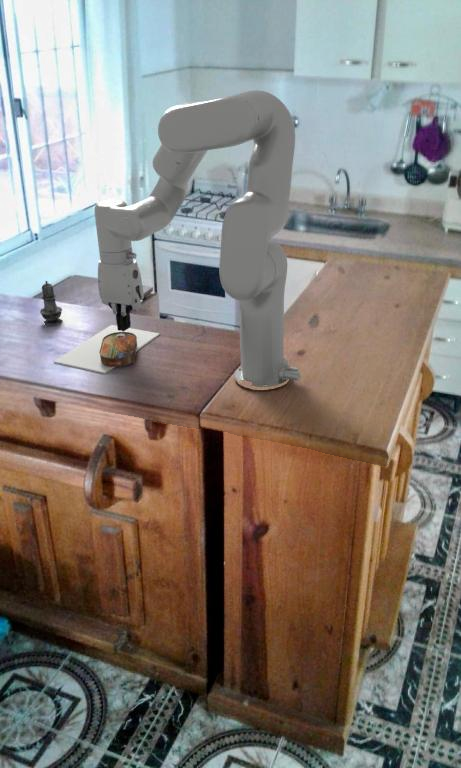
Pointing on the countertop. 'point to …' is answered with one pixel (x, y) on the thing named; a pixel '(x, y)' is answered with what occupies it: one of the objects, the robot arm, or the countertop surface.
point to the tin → (118, 349)
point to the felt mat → (89, 350)
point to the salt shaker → (50, 307)
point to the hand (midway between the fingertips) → (124, 328)
